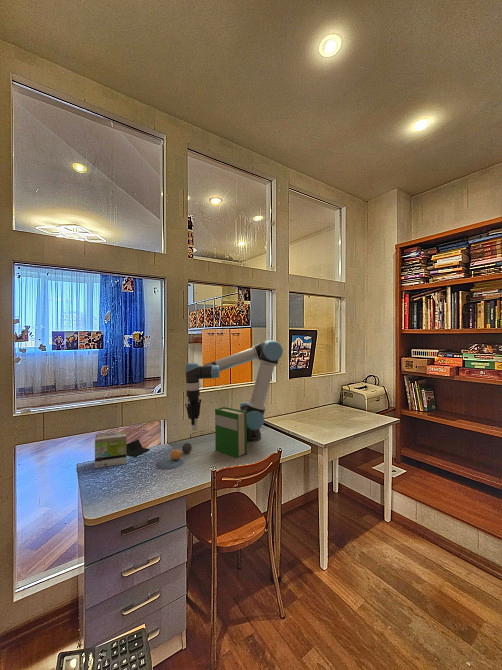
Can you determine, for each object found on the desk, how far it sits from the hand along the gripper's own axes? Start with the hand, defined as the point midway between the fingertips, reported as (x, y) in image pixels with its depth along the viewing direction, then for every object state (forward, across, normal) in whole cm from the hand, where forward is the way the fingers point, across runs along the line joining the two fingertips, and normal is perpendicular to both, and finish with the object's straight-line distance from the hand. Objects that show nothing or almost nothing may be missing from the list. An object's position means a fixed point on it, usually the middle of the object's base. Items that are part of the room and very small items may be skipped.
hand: (194, 429), depth 179 cm
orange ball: (+8, +16, -1) cm, 18 cm away
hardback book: (+12, -4, +21) cm, 25 cm away
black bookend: (+11, +18, -28) cm, 35 cm away
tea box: (+11, +34, -30) cm, 46 cm away
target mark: (+11, +22, -1) cm, 24 cm away
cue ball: (+9, +6, -1) cm, 11 cm away
